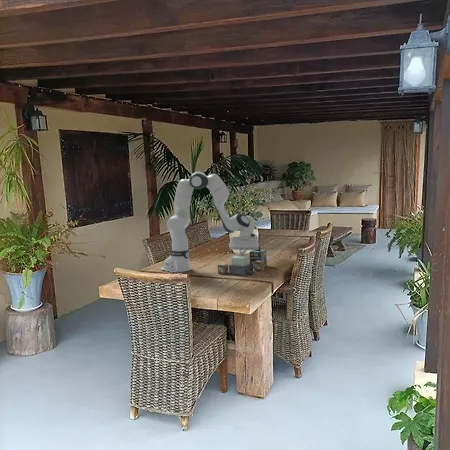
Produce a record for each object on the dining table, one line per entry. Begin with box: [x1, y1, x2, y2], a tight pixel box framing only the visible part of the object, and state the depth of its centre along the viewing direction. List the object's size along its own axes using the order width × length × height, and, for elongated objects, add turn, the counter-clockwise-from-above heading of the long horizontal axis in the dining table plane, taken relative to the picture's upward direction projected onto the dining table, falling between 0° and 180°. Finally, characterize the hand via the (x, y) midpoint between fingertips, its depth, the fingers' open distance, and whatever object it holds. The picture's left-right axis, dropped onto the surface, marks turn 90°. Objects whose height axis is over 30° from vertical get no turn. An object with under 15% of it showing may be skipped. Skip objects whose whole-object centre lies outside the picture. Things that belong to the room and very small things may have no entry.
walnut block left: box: [217, 263, 229, 275], centre depth 293 cm, size 5×5×6 cm
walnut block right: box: [253, 261, 265, 272], centre depth 297 cm, size 5×5×6 cm
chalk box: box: [249, 246, 268, 269], centre depth 307 cm, size 9×9×15 cm
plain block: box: [230, 254, 250, 266], centre depth 292 cm, size 9×9×8 cm
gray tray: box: [228, 263, 254, 277], centre depth 292 cm, size 12×12×6 cm
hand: (241, 254), depth 293 cm, fingers closed
